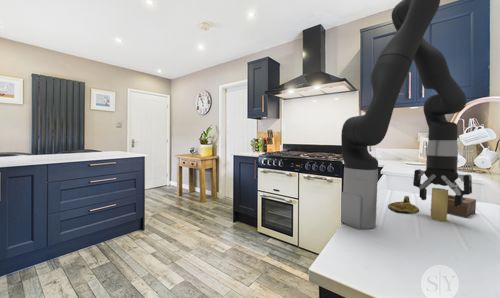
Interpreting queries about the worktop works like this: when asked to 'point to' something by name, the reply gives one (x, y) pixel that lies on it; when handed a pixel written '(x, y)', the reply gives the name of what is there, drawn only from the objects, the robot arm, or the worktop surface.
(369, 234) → the worktop surface
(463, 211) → the socket block
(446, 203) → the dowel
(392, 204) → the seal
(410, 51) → the robot arm
